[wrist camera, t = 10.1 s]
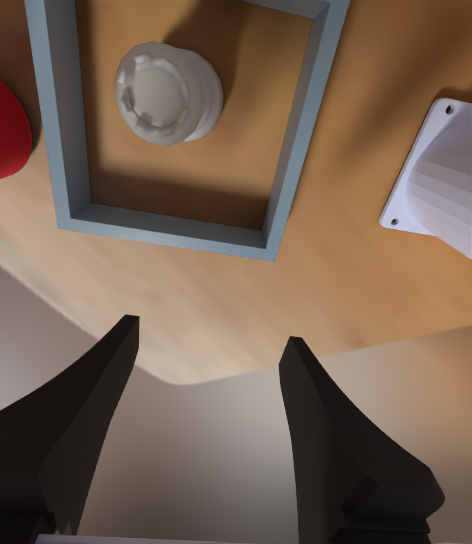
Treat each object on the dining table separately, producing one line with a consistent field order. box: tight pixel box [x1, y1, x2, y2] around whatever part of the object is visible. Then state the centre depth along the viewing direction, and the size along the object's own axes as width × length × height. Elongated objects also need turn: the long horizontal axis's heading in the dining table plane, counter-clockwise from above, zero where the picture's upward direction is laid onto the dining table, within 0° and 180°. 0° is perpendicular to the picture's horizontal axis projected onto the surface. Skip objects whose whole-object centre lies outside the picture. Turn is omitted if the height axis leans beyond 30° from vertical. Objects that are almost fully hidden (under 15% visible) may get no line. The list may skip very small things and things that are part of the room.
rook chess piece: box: [115, 41, 224, 146], centre depth 13 cm, size 4×4×8 cm
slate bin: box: [24, 0, 350, 262], centre depth 16 cm, size 14×14×3 cm
